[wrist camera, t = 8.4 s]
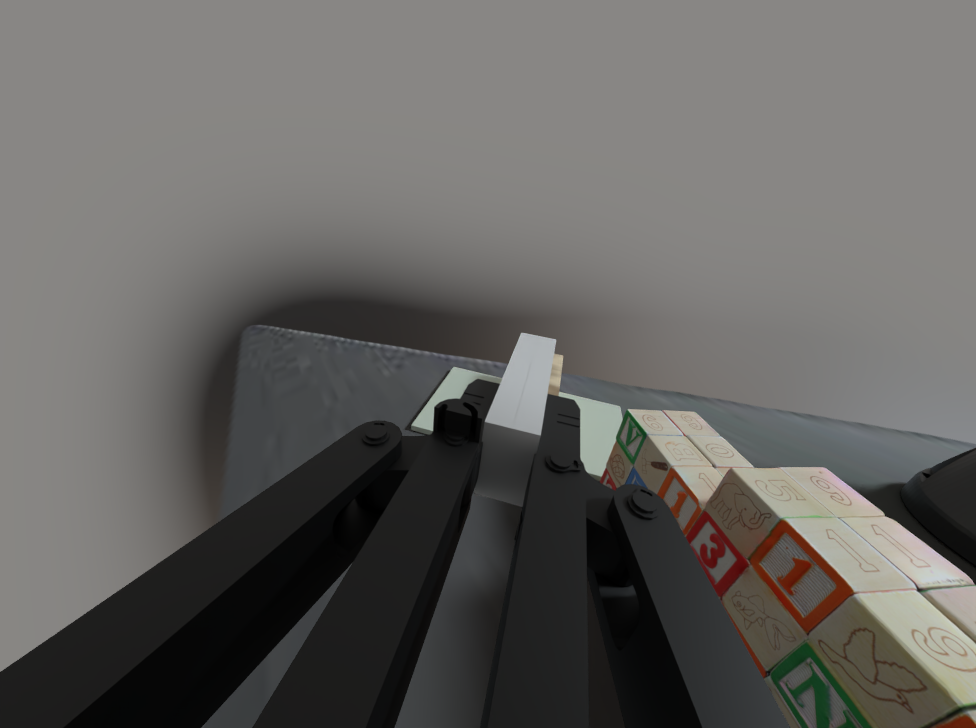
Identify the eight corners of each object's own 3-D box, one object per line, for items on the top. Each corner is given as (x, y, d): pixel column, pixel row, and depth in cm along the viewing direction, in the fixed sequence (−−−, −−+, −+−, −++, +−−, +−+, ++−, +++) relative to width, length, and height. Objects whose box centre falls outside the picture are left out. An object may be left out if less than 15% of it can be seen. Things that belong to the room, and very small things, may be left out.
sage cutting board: (618, 410, 43) (620, 406, 43) (633, 490, 32) (635, 485, 31) (453, 370, 47) (453, 366, 46) (411, 429, 35) (411, 425, 34)
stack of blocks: (592, 490, 31) (639, 373, 25) (655, 491, 32) (713, 378, 26) (815, 962, 12) (1176, 920, 7) (947, 927, 13) (1358, 866, 8)
